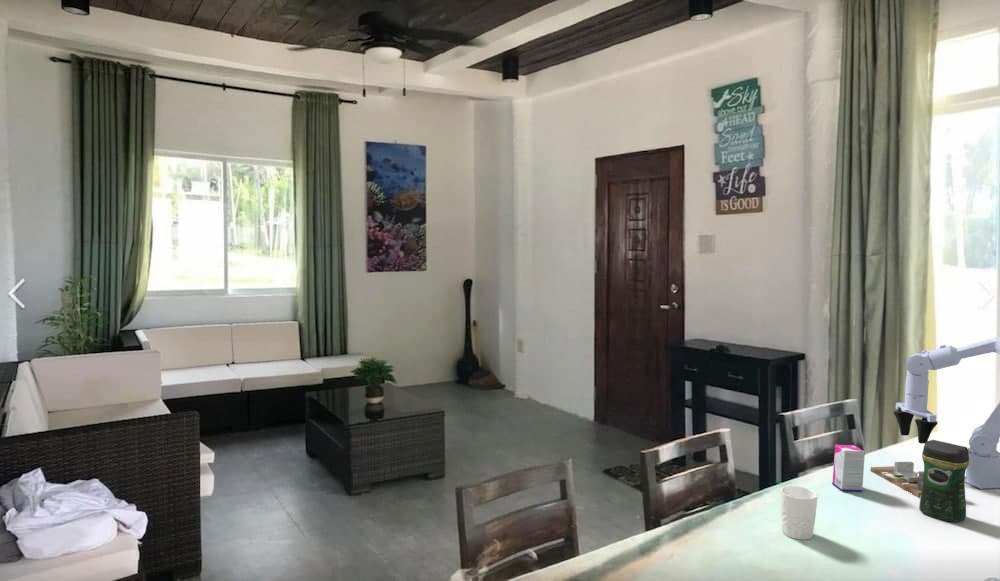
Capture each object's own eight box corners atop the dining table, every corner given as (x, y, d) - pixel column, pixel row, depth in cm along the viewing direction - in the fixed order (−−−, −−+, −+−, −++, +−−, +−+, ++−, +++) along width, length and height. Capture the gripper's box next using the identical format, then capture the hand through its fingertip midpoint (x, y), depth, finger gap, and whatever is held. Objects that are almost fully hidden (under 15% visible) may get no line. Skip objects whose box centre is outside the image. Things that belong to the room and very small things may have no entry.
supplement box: (863, 492, 185) (865, 451, 184) (841, 491, 185) (843, 450, 184) (852, 484, 190) (854, 444, 189) (831, 483, 190) (833, 444, 189)
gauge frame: (870, 470, 201) (871, 451, 200) (902, 470, 202) (903, 450, 201) (918, 497, 181) (919, 475, 180) (953, 496, 182) (954, 474, 181)
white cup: (799, 544, 154) (801, 501, 153) (771, 530, 161) (773, 489, 160) (823, 536, 157) (825, 495, 156) (794, 523, 164) (796, 483, 163)
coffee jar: (970, 517, 168) (975, 445, 167) (957, 525, 164) (962, 451, 162) (927, 505, 176) (931, 435, 174) (913, 512, 171) (918, 440, 170)
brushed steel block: (885, 474, 194) (886, 462, 194) (910, 473, 195) (911, 461, 194) (905, 485, 186) (906, 472, 186) (930, 484, 187) (931, 471, 186)
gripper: (887, 388, 207) (884, 432, 208) (921, 400, 192) (918, 447, 194) (909, 388, 207) (906, 431, 209) (944, 400, 193) (941, 446, 194)
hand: (913, 439), depth 201 cm, fingers open, 7 cm apart
